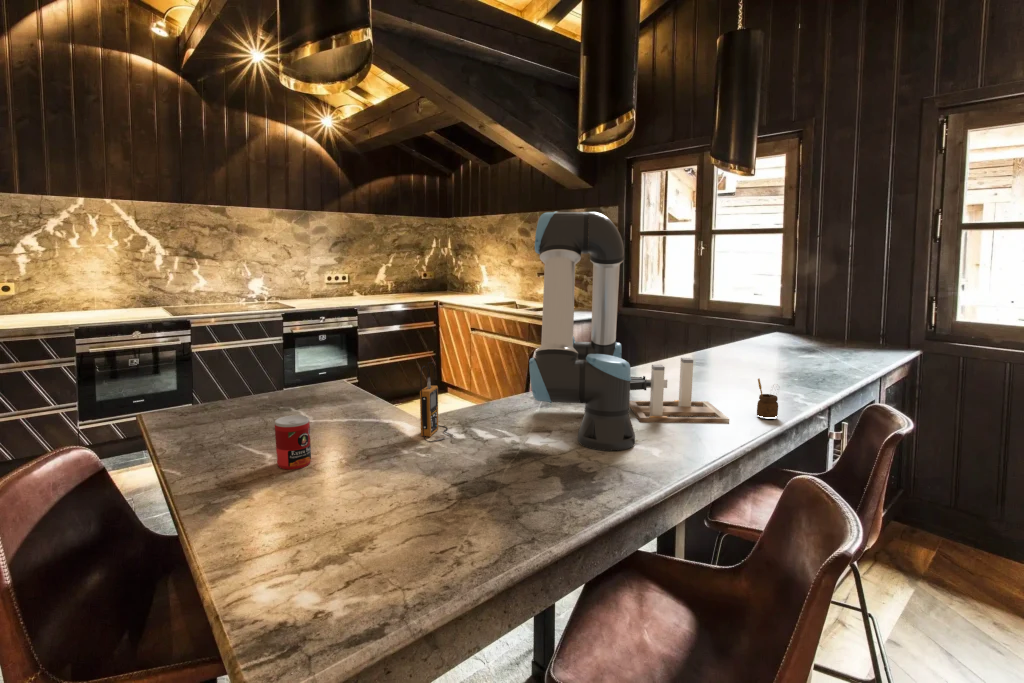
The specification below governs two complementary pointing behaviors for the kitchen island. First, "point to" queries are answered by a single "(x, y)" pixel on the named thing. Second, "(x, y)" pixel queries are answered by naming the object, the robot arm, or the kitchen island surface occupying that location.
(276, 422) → the canned food
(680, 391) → the tall white block
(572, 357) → the robot arm
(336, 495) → the kitchen island surface
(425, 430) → the multimeter
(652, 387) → the white rectangular block
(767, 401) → the utensil holder
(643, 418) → the wooden compartment tray
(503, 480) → the kitchen island surface
